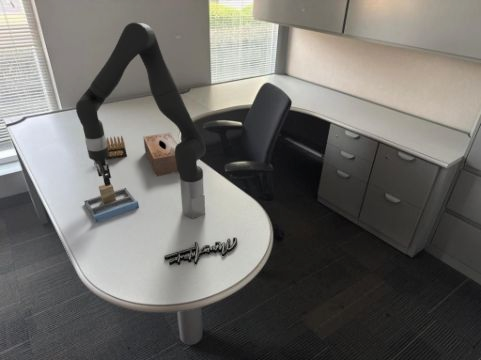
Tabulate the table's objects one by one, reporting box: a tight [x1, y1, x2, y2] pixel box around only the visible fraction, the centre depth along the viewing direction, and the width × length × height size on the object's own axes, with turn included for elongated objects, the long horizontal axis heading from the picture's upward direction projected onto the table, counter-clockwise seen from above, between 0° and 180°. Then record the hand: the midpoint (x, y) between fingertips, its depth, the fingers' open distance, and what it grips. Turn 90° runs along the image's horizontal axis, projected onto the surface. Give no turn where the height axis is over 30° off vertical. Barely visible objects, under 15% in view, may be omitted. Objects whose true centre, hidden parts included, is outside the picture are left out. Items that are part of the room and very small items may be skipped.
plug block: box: [98, 183, 117, 205], centre depth 145 cm, size 3×5×8 cm, turn 126°
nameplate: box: [164, 237, 238, 266], centre depth 123 cm, size 28×2×10 cm
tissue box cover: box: [142, 132, 178, 177], centre depth 175 cm, size 26×14×10 cm, turn 24°
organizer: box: [84, 187, 140, 223], centre depth 144 cm, size 15×18×3 cm
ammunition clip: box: [105, 135, 128, 160], centre depth 176 cm, size 11×2×12 cm, turn 111°
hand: (104, 180), depth 141 cm, fingers open, 8 cm apart
